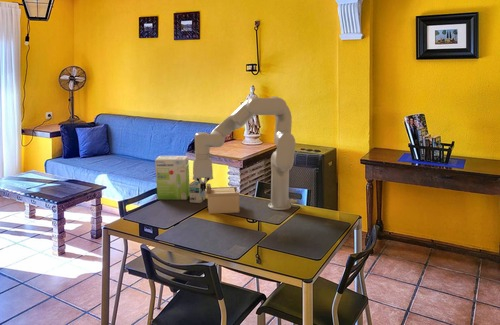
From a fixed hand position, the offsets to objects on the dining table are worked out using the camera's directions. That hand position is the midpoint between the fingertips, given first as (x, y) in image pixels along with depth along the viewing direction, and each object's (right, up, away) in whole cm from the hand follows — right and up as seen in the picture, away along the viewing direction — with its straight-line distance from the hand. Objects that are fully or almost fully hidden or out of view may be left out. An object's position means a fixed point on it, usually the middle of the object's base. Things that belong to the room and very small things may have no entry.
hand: (203, 190), depth 220 cm
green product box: (-20, -6, +24) cm, 32 cm away
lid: (+9, -1, +2) cm, 9 cm away
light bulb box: (-5, -7, +20) cm, 21 cm away
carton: (+10, -11, +4) cm, 15 cm away
